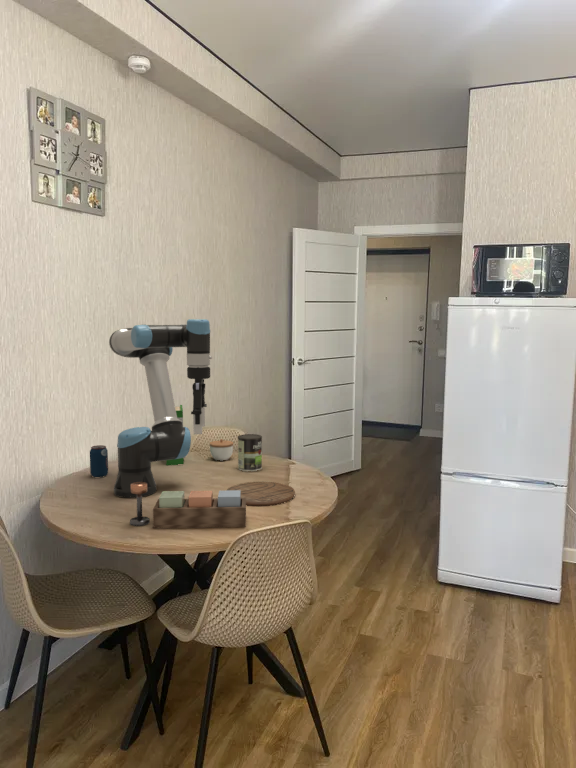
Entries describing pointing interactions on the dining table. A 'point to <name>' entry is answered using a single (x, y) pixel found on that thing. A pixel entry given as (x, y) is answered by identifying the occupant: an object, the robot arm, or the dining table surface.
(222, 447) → the lidded jar
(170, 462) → the hardback book
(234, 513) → the button console
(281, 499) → the trivet
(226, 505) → the slate button
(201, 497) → the terracotta button
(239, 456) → the coffee can
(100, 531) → the dining table surface
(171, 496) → the sage button
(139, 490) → the indicator lamp
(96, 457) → the soda can
